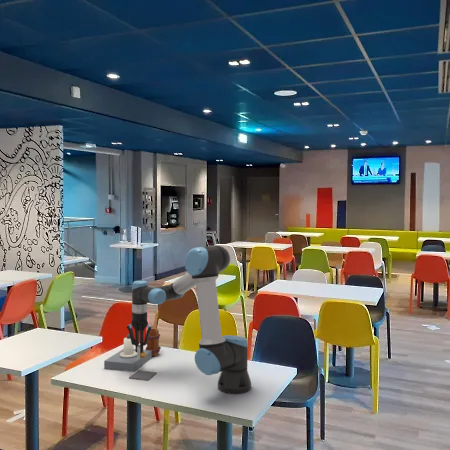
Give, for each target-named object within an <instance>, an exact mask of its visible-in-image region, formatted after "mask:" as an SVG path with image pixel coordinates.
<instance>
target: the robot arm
mask: <svg viewBox="0 0 450 450" xmlns="http://www.w3.org/2000/svg"><path fill="white" fill-rule="evenodd" d="M230 263H231V255H230V253H229V251H228V250H227V248H225V247H224V246H222V245H209V246H199V247H198V246H197V247H193V248H191V249H190V250H189V251H188V252H187V254H186V256H185V259H184V268H185V270H186V273H184V274H183V275H181V276H180V277H179V278H177V279H175V280H174V281H173V282H172V283H170V284H166V285H161V286H154V287H152V286H149V285H148V281H146V280H134V281H133V282H132V285H131V286H132V288H131V312H132V313H131V322H130V324H128V325H126V329H127V330H128V334H130V339H131V343H132V345H134V346H135V348H134V349H135V351H136V352H137V360H140V359H141V353H142V352H143V350H144V346H147V342H148V338H149V334H150V330H151V329H152V326H153V325H150V324H149V321H148V304H152V305H158V306H159V305H162V304H164V303H165V302H167V301H172V300H178V299H181V298H183V297H184V295H185V293H186V292H188V291H190V290H191V289H192V288H194V287H196V296H197V297H196V298H197V305H198V313H199V314H198V315H199V316H198V317H199V322H200V323H199V324H200V333H201V339H200V340H199V342H198V348H199V349H197V350H196V351H195V354H194V362H195V366H196V367H197V368H198V370H200V372H201V373H202V374H204V375H206V376H212V375H216V374H219V373H220V375H219V377H218V381H217V389H218V390H219V391H220V392H223V393H226V394H231V395H232V394H236V395H237V394H243V393H247V392H249V391H250V390H251V389H252V380H251V377H250V374H249V371H248V355H249V354H248V352H249V351H248V349H249V347H248V345H249V344H248V340H247V339H246V338H245V337H244V336H239V335H228V334H227V335H226V334H225V335H222V327H221V319H220V310H219V309H220V308H219V299H218V292H217V291H218V290H217V279H218V278H219V276H220V275H219V274H220V273H222V272H223V271H225V270H226V269H227V268H228V267H229V265H230ZM133 329H134V330H133ZM145 329H146V332H145ZM134 333H135V334H134Z"/></svg>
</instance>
